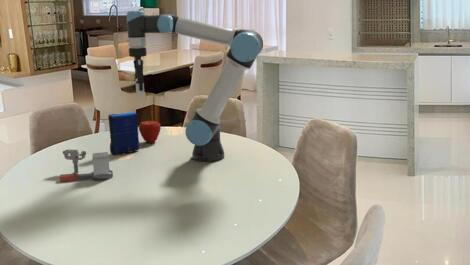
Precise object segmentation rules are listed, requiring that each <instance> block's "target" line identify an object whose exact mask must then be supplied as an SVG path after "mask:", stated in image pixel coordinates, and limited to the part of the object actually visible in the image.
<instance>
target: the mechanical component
mask: <svg viewBox="0 0 470 265" xmlns="http://www.w3.org/2000/svg"><path fill="white" fill-rule="evenodd" d="M62 154H63V156H64V159H66V160H72V162H71V163H72V164H73V171H74V173H79V166H78V163H79V161H82V160H83V159H85V158H86V155H87V151H85V150H82V151H81V152H80V151H79V149H64V150H63V151H62ZM74 173H73V174H74Z"/></svg>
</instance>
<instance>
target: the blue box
mask: <svg viewBox="0 0 470 265" xmlns="http://www.w3.org/2000/svg"><path fill="white" fill-rule="evenodd" d="M138 124H139V122H138V114H137V113H136V112H135V111H129V112H122V113H110V114H108V125H109V126H108V127H109V138H110V143H109V152H110V155H113V156H116V155H123V154H128V153H129V154H130V153H132V152H133V153H134V152H136V151H137V152H138V151H139V150H140V138H139V125H138Z"/></svg>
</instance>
